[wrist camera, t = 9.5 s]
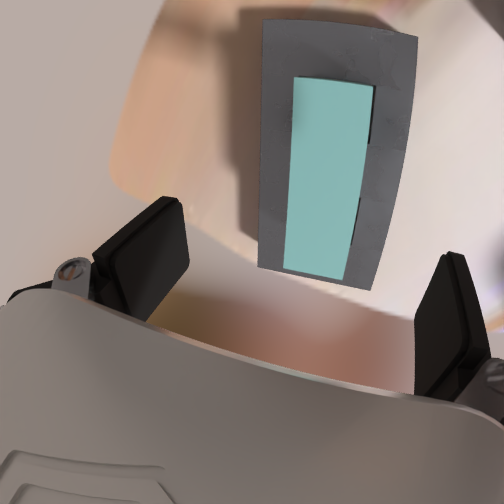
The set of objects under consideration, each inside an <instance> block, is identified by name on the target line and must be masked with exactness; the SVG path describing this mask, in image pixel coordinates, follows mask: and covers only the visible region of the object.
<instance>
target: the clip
mask: <svg viewBox="0 0 504 504" xmlns="http://www.w3.org/2000/svg"><path fill="white" fill-rule="evenodd" d="M372 95H373V86H371V85H367V84H361V83H355V82H348V81H341V80H333V79H324V78H314V77H294V91H293V118H292V140H291V160H290V177H289V194H288V209H287V224H286V238H285V251H284V264H283V268H285V269H289V270H294V271H299V272H304V273H309V274H314V275H319V276H324V277H329V278H334V279H339V280H342V279H343V275H344V271H345V266H346V262H347V257H348V253H349V248H350V243H351V238H352V233H353V228H354V223H355V218H356V213H357V207H358V201H359V196H360V190H361V183H362V177H363V171H364V164H365V157H366V149H367V142H368V133H369V125H370V116H371V106H372Z"/></svg>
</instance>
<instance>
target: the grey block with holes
mask: <svg viewBox="0 0 504 504" xmlns="http://www.w3.org/2000/svg"><path fill="white" fill-rule="evenodd" d="M417 50H418V37H417V36H413V35H409V34H404V33H400V32H395V31H390V30H385V29H380V28H374V27H368V26H361V25H354V24H346V23H338V22H327V21H314V20H293V19H263V31H262V90H261V141H260V186H259V227H258V265H257V267H260V268H264V269H269V270H274V271H278V272H283V273H288V274H292V275H297V276H302V277H307V278H311V279H316V280H321V281H326V282H330V283H335V284H340V285H345V286H350V287H354V288H359V289H364V290H369V291H370V290H371V287H372V284H373V281H374V278H375V275H376V271H377V268H378V265H379V261H380V258H381V255H382V251H383V248H384V244H385V240H386V237H387V233H388V229H389V225H390V221H391V217H392V213H393V209H394V205H395V201H396V196H397V192H398V187H399V183H400V178H401V173H402V168H403V163H404V157H405V152H406V146H407V140H408V134H409V127H410V121H411V113H412V106H413V97H414V88H415V78H416V66H417ZM306 76H310V77H320V78H329V79H337V80H344V81H351V82H357V83H363V84H369V85H374V90H373V101H372V111H371V120H370V128H369V135H368V142H367V149H366V157H365V164H364V171H363V177H362V183H361V190H360V196H359V201H358V207H357V213H356V218H355V223H354V228H353V233H352V238H351V243H350V248H349V253H348V257H347V262H346V266H345V271H344V275H343V279H342V280H339V279H334V278H329V277H324V276H319V275H314V274H309V273H304V272H299V271H294V270H289V269H285V268H283V264H284V251H285V238H286V224H287V209H288V194H289V177H290V160H291V140H292V118H293V91H294V77H306Z"/></svg>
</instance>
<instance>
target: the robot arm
mask: <svg viewBox="0 0 504 504" xmlns="http://www.w3.org/2000/svg"><path fill="white" fill-rule="evenodd" d="M92 256H93V259H94V262H93V263H92V264H91V262H90V261H89V260H88V259H86V258H83V257H78V258H73V259H70V260H68V261H66V262H64V263H63V264H61V265H60V266H59V267H58V268H57V270H56V272H55V274H54V278H53V280H51V281H48V282H45V283H41V284H37V285H34V286H30V287H27V288H24V289H21V290H17V291H15V292H14V293H13V294H12V295H11V297H10V298H9V300H8V301H7V304H6V305H5V306H4V305H3V306H1V307H0V504H504V360H502V359H499V358H491V352H490V347H489V342H488V337H487V333H486V328H485V324H484V320H483V316H482V312H481V308H480V304H479V301H478V297H477V294H476V290H475V287H474V284H473V280H472V277H471V274H470V271H469V268H468V265H467V262H466V259H465V257H464V255H462V254H458V253H454V252H450V251H449V252H447V254H446V255H444V254H443V255H442V256H441V257H440V260H439V262H438V265H437V267H436V269H435V272H434V274H433V276H432V279H431V281H430V283H429V286H428V288H427V290H426V292H425V294H424V296H423V299H422V301H421V303H420V305H419V307H418V309H417V311H416V314H415V318H414V328H415V384H414V386H415V387H414V395H411V394H405V393H400V392H394V391H389V390H383V389H378V388H373V387H368V386H362V385H358V384H353V383H348V382H344V381H338V380H334V379H330V378H326V377H321V376H317V375H313V374H309V373H305V372H301V371H297V370H293V369H289V368H286V367H282V366H278V365H274V364H271V363H267V362H263V361H260V360H257V359H253V358H250V357H246V356H243V355H239V354H236V353H233V352H230V351H227V350H223V349H220V348H217V347H214V346H211V345H208V344H205V343H202V342H199V341H196V340H193V339H190V338H188V337H185V336H182V335H179V334H176V333H173V332H170V331H168V330H165V329H162V328H160V327H157V326H154V325H151V324H149V323H146V320H147V319H148V318H149V316H150V315H151V314H152V313H153V311H154V310H155V309H156V308H157V306H158V305H159V304H160V302H161V301H162V300H163V299H164V297H165V296H166V295H167V293H168V292H169V291H170V290H171V289H172V287H173V286H174V285H175V284H176V282H177V281H178V280H179V279H180V277H181V276H182V275H183V274H184V272H185V271H186V270H187V268H188V266H189V262H190V259H189V252H188V245H187V238H186V231H185V223H184V215H183V207H182V204H181V203H180V202H179V200H178V199H177V198H174V197H167V196H162V197H160V198H159V199H158V200H156V201H155V202H154V203H153V204H151V205H150V206H149V207H147V208H146V209H145V210H144V211H142V212H141V213H140V214H139V215H137V216H136V217H135V218H134V219H133V220H131V221H130V222H129V223H128V224H126V225H125V226H124V227H123V228H121V229H120V230H119V231H118V232H117V233H116V234H114V235H113V236H112V237H111V238H110V239H108V240H107V241H106V242H105V243H104V244H103V245H101V246H100V247H99V248H98V249H97V250H96V251H95V252H93V253H92Z"/></svg>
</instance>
